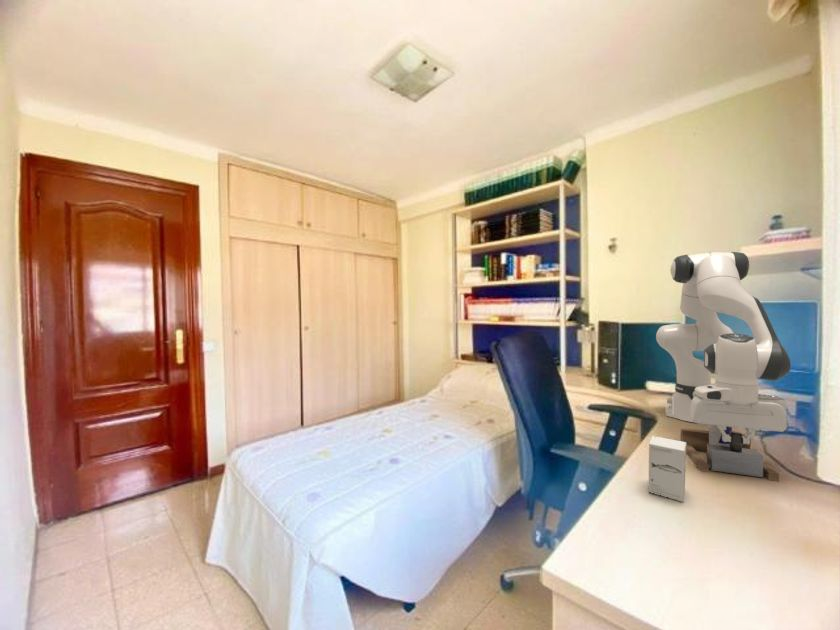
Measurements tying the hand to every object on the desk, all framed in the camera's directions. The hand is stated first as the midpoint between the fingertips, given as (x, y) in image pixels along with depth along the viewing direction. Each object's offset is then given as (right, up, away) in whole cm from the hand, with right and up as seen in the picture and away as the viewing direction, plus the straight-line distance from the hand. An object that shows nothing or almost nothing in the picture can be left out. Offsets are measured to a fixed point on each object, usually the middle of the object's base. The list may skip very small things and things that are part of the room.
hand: (735, 442), depth 97 cm
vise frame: (+3, -8, +7) cm, 11 cm away
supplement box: (-26, -9, -9) cm, 29 cm away
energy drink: (+4, -9, +10) cm, 14 cm away
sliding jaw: (0, -9, +1) cm, 9 cm away
